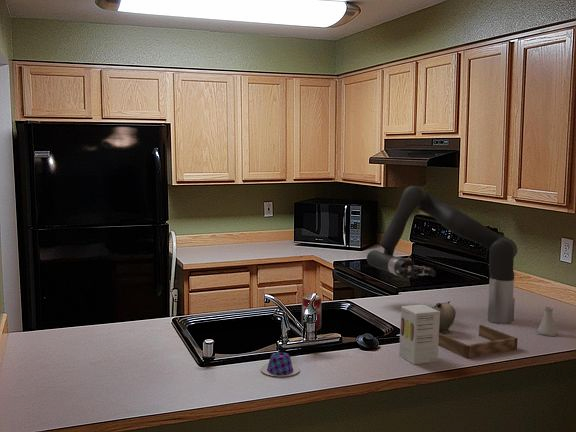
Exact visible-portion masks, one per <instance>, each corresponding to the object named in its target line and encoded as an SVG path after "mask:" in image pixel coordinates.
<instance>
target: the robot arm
mask: <svg viewBox="0 0 576 432" xmlns="http://www.w3.org/2000/svg"><path fill="white" fill-rule="evenodd" d="M415 210H419V211H421V212H423V213H425V214H426V215H429V216H430V217H432V218H433V219H434V220H436V222H437V223H439V224H440V225H441V226H442V227H444V228H445V229H446V230H448V231H450V232H451V233H453V234H454V235H456V236H458V237H460V238H462V239H465V240H468V241H470V242H474V243H476V244H479V245H481V246H482V247H484V248H485V249H487V250H488V251H489V256H488V258H489V259H488V271H489V283H488V284H489V285H488V286H489V288H488V305H487V320H488V321H489V322H491V323H496V324H501V325H502V324H511V323H513V322H514V320H515V302H516V298H515V297H514V287H515V272H514V262H515V261H514V260H515V259H514V258H515V257H516V255H517V254H518V247H517V244H516V243H515V241H513V240H512V239H511V238H509V237H506V236H505V235H502V234H501V233H498V232H495V231H494V230H491V229H489V228H488V227H487V226H485V225H484V224H482V223H481V222H479V221H477V220H476V219H474V218H473V217H471V216H470V215H468V214H466V213H465V212H463V211H461V210H459V209H457V208H456V207H454V206H451V205H449V204H447V203H445V202H443V201H441V200H439V199H437V198H436V197H434V196H433V195H431V193H429V192H427V191H426V189H424V188H423V187H420V186H416V185H410V186H407V187H406V188H405V189H404V190H403V192H402V195H401V198H400V201H399V203H398V206H397V208H396V211H395V213H394V215H393V217H392V219H391V221H390V223H389V225H388V226H387V228H386V230H385V232H384V233H383V234H382V237H381V239H379V240H380V241H379V245H380V247H382V248H383V252H381V251H379V250H376V249H375V250H370V251H369V252H368V253H367V255H366V262H367V264H368V265H370V266H371V267H374V268H376V269H379V270H380V271H386V272H388V273H390V274H393V275H395V276H398V277H401V278H404V279H409V278H412V279H418V278H419V276H421V277H423V276H430V277H433V278H434V277H437V274H436V273H437V272H436V270H434V268H433V267H430V266H425V265H420V266H419V265H415V263H414V261H412V260H411V259H407V258H404V257H399V256H395V255H394V254H395V253H394V252H395V250H396V247H397V246H398V244H399V242H400V241H401V238H402V237H403V234H404V231H405V229H406V225H407V223H408V221H409V218H410V217H411V216H412V213H414V211H415Z"/></svg>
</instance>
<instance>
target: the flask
mask: <svg viewBox="0 0 576 432" xmlns="http://www.w3.org/2000/svg"><path fill="white" fill-rule="evenodd" d="M543 309H544V314H543V317H542V320H541V322H540V323H539V326H538V328H537V331H536V333H537V335H542V336H549V337H555V336H558V332H557V328H556V324H555V322H554V318H553V310H554V307H551V306H544V307H543Z"/></svg>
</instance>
